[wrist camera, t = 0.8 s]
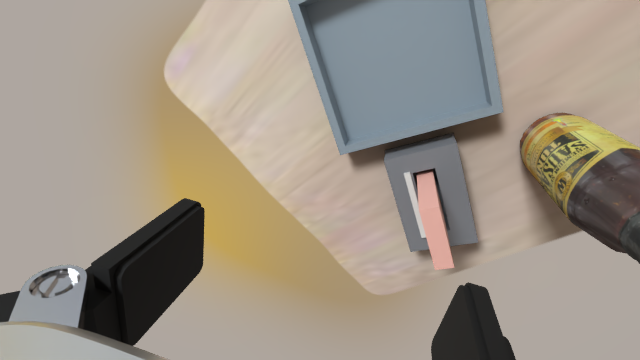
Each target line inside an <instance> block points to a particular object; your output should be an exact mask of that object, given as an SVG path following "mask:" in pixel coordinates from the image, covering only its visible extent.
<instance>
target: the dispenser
mask: <svg viewBox="0 0 640 360" xmlns="http://www.w3.org/2000/svg"><path fill="white" fill-rule="evenodd" d="M384 163H385V166H386V170H387V173H388V177H389V180H390V183H391V187H392V190H393V194H394V197H395V200H396V204H397V207H398V211H399V214H400V217H401V221H402V224H403V227H404V231H405V234H406V238H407V241H408V244H409V248H410V251H411V252H413V251H421V250H428V249H429V246H428V242H427V238H426V235H425V231H424V227H423V224H422V220H421V216H420V213H419V204H418V188H417V172H419V171H424V170H428V169H433V173H434V177H435V181H436V185H437V189H438V193H439V197H440V201H441V205H442V209H443V213H444V218H445V223H446V228H447V233H448V238H449V243H450V246H456V245H464V244H471V243H478V239H477V234H476V229H475V225H474V220H473V216H472V211H471V206H470V202H469V197H468V192H467V188H466V183H465V179H464V174H463V169H462V165H461V160H460V155H459V151H458V146H457V142H456V140H455V137H454V133H451V134H447V135H443V136H439V137H436V138H432V139H428V140H424V141H420V142H416V143H412V144H408V145H404V146H400V147H396V148H392V149H389V150H385V157H384Z"/></svg>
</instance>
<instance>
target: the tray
mask: <svg viewBox="0 0 640 360" xmlns="http://www.w3.org/2000/svg"><path fill="white" fill-rule="evenodd" d="M288 1H289V4H290V7H291V10H292V13H293V16H294V19H295V22H296V25H297V28H298V31H299V34H300V37H301V40H302V43H303V46H304V49H305V52H306V55H307V58H308V61H309V64H310V67H311V70H312V73H313V76H314V78H315V81H316V84H317V87H318V90H319V93H320V96H321V99H322V102H323V105H324V108H325V111H326V114H327V117H328V120H329V123H330V126H331V129H332V132H333V135H334V138H335V141H336V144H337V147H338V150H339V153H340V155H342V154H346V153H350V152H354V151H358V150H361V149H365V148H369V147H373V146H377V145H380V144H384V143H388V142H392V141H396V140H399V139H403V138H407V137H411V136H415V135H418V134H422V133H426V132H430V131H434V130H437V129H441V128H445V127H449V126H453V125H456V124H460V123H464V122H468V121H472V120H475V119H479V118H483V117H487V116H491V115H494V114H498V113H502V112H503V106H502V100H501V94H500V88H499V82H498V76H497V70H496V64H495V58H494V51H493V45H492V39H491V33H490V27H489V21H488V15H487V9H486V3H485V0H288Z"/></svg>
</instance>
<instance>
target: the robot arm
mask: <svg viewBox="0 0 640 360" xmlns="http://www.w3.org/2000/svg"><path fill="white" fill-rule="evenodd" d="M203 246H204V208H203V207H201V204H200V203H199V202H196V201H193V200H190V199H186V198H184V199H182V200H181V201H179V202H178V203H176V204H175V205H174V206H172V207H171V208H169V209H168V210H166V211H165V212H164V213H162V214H161V215H159V216H158V217H156V218H155V219H154V220H152V221H151V222H149V223H148V224H147V225H145V226H144V227H142V228H141V229H139V230H138V231H137V232H135V233H134V234H132V235H131V236H129V237H128V238H127V239H125V240H124V241H122V242H121V243H119V244H118V245H117V246H115V247H114V248H112V249H111V250H109V251H108V252H107V253H105V254H104V255H103V256H101V257H100V258H98V259H97V260H95V261H94V262H93V263H91V265H92V266H90V267H89V268H87V269H86V270H84V269H83V268H81V267H78V266H74V265H60V266H55V267H51V268H48V269H45V270H42V271H40V272H38V273H37V274H35V275H33V276H32V277H31V278H29V279H28V280H27V281H26V282H25V284H24V285H23V287H22V289H21V291H17V292H12V293H6V294H2V295H0V360H168V359H166V358H163V357H160V356H158V355H155V354H153V353H150V352H147V351H145V350H142V349H139V348H136V347H134V346H133V345H135V344H136V343H137V342H138V341H139V340H140V339H141V337H142V336H143V335H144V334H145V333H146V332H147V331H148V330H149V328H150V327H151V326H152V325H153V324H154V323H155V322H156V321H157V320H158V318H159V317H160V316H161V315H162V314H163V313H164V312H165V311H166V309H167V308H168V307H169V306H170V305H171V304H172V302H174V301H175V299H176V298H177V297H178V296H179V295H180V294H181V293H182V292H183V290H184V289H185V288H186V287H187V286H188V285H189V284H190V283H191V281H192V280H193V279H194V278H195V277H196V276H197V274H199V272H200V270H201V269H202V266H203ZM431 353H432V360H516V359H515V356H514V353H513V350H512V348H511V345H510V343H509V341H508V339H507V338H506V337H504V336H503V335H502V332H501V329H500V326H499V323H498V320H497V317H496V314H495V311H494V308H493V305H492V302H491V299H490V296H489V293H488V290H487V289H486V288H485V287H482V286H478V285H475V284H471V283H466V285H465V286H463V285H460V286H459V287H458V289H457V291H456V293H455V295H454V297H453V299H452V301H451V303H450V305H449V307H448V310H447V311H446V314H445V316H444V318H443V320H442V322H441V324H440V326H439V328H438V330H437V332H436V334H435V336H434V338H433V341H432V346H431Z"/></svg>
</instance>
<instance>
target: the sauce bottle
mask: <svg viewBox="0 0 640 360" xmlns="http://www.w3.org/2000/svg"><path fill="white" fill-rule="evenodd" d="M520 153H521V156H522V160H523V163H524V164H525V166H526V167H527V169H528V170H529V171H530V172H531V174H532V175H533V176H534V177H535V179H536V180H537V181H538V182H539V183H540V185H541V186H542V187H543V188H544V189H545V191H546V192H547V193H548V194H549V196H550V197H551V198H552V199H553V200H554V202H555V203H556V204H557V205H558V206H559V207H560V209H561V210H562V211H563V213H564V214H565V215H566V216H567V217H568V218H569V220H570V221H571V222H572V223H573V224H575V225H576V226H578V227H579V228H581V229H582V230H584V231H585V232H587V233H588V234H590V235H591V236H593V237H594V238H596V239H597V240H599V241H600V242H602V243H603V244H605V245H606V246H608V247H609V248H611V249H613V250H615V251H617V252H622V253H627V254H628V255H629V256H631V257H632V258H633V259H635V260H637V261H638V262H639V264H640V148H639V147H637V146H635V145H633V144H632V143H630V142H628V141H626V140H624V139H622V138H620V137H618V136H617V135H615V134H613V133H611V132H609V131H608V130H606V129H604V128H602V127H600V126H598V125H597V124H595V123H593V122H591V121H589V120H587V119H585V118H583V117H579V116H575V115H572V114H567V113H555V114H551V115H547V116H545V117H542V118H540V119H538V120H537V121H535V122H534V123H533V124H532V125H531V126H530V127H529V128H528V129H527V130H526V132H525V133H524V134H523V137H522V139H521V140H520Z"/></svg>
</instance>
